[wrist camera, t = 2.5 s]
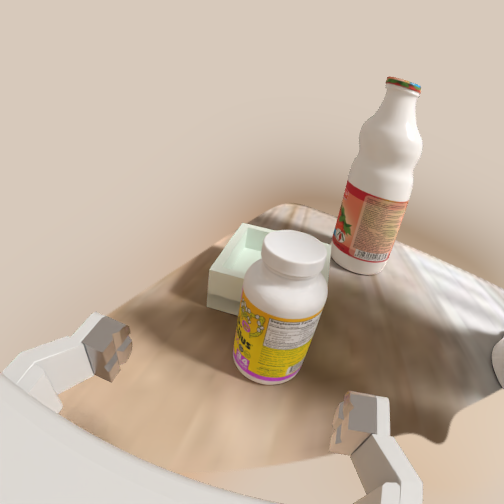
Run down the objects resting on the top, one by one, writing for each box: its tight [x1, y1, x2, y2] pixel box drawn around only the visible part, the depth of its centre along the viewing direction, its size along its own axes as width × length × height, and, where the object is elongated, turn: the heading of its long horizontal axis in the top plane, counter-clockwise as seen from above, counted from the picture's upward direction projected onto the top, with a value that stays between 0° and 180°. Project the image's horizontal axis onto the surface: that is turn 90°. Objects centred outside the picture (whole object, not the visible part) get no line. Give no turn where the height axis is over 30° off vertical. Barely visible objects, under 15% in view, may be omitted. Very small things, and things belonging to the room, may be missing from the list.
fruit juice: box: [330, 77, 423, 275], centre depth 42 cm, size 9×9×28 cm
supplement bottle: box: [233, 230, 328, 385], centre depth 26 cm, size 7×7×13 cm
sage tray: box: [207, 223, 332, 330], centre depth 38 cm, size 12×12×5 cm
